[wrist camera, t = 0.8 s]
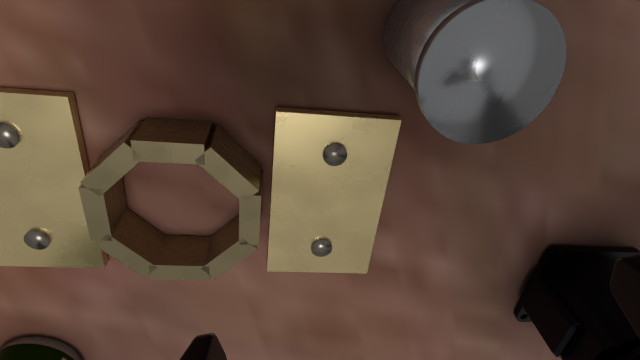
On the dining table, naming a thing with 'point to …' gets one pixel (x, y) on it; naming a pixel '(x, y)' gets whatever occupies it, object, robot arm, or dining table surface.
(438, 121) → the steel pin
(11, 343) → the beer can
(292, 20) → the dining table surface
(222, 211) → the dining table surface
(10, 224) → the octagon ring with plates
